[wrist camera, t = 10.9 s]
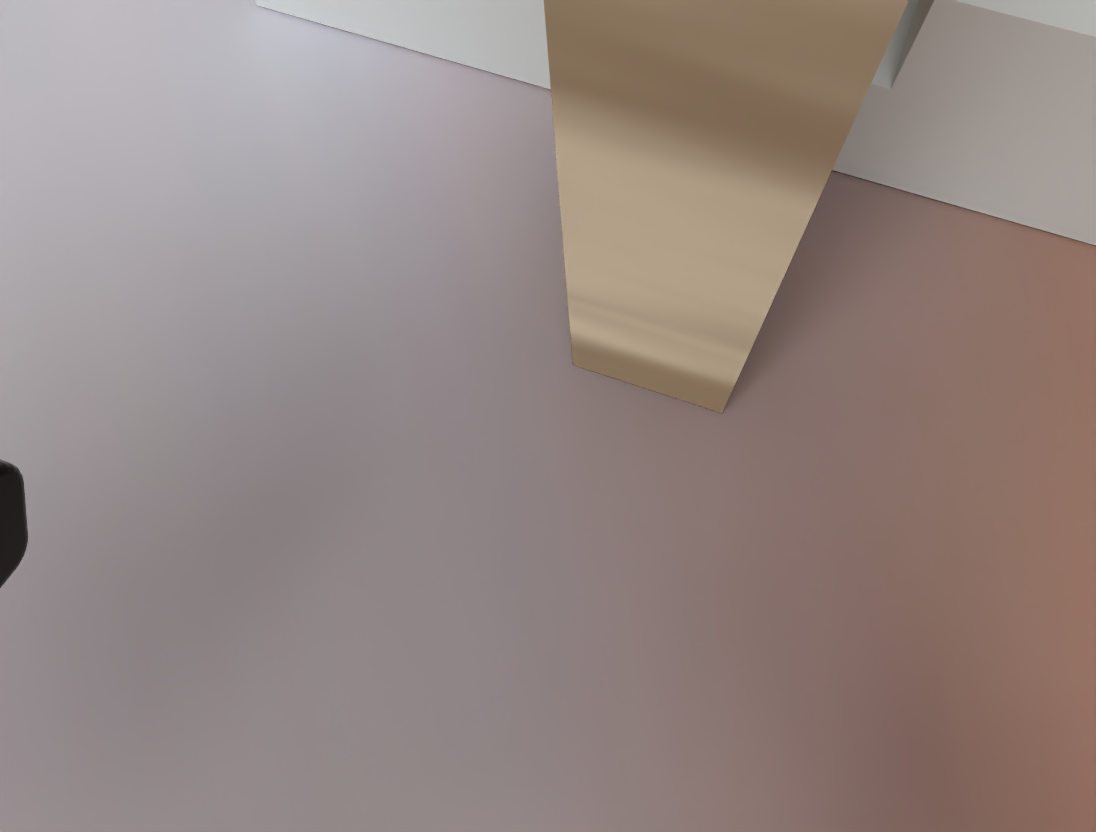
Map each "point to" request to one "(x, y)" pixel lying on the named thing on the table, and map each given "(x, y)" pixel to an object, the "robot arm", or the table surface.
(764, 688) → the table surface
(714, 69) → the birch slotted plate
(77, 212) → the table surface
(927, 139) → the light grey slotted rail
